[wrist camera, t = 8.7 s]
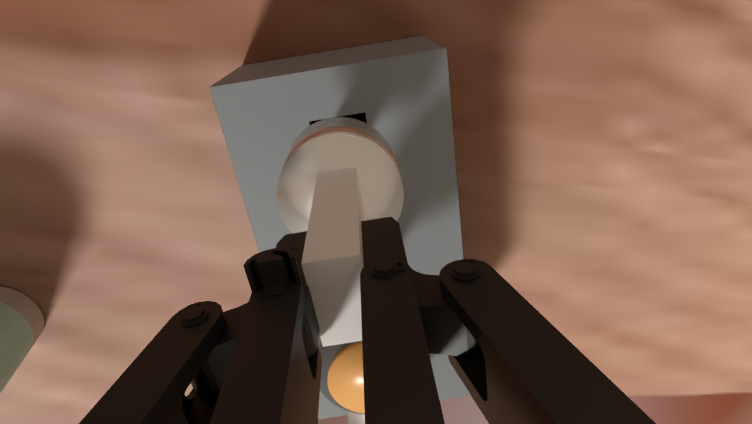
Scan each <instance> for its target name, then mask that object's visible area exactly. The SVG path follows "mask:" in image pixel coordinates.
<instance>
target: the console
mask: <svg viewBox="0 0 752 424" xmlns="http://www.w3.org/2000/svg"><path fill="white" fill-rule="evenodd" d="M209 88H210V91H211V94H212V98H213V101H214V104H215V108H216V111H217V114H218V118H219V121H220V124H221V127H222V131H223V134H224V137H225V141H226V144H227V147H228V150H229V154H230V157H231V160H232V164H233V167H234V170H235V174H236V177H237V180H238V183H239V187H240V190H241V193H242V197H243V200H244V203H245V207H246V210H247V213H248V216H249V220H250V223H251V226H252V230H253V233H254V236H255V240H256V243H257V246H258V249H259V253H260V252H262V251H265V250H269V249H273V248H276V245H277V243H278V242H279V241H280V240H281V239H282V238H283V237H284V235H286V234H292V232H291V231H290V230H289V229H288V228H287V226H286V225H285V223H284V222H283V220H282V218H281V216H280V213H279V210H278V206H277V200H276V190H277V183H278V179H279V176H280V173H281V171H282V168H283V165H284V162H285V160H286V157H287V154H288V152H289V149H290V147H291V145H292V143H293V142H294V140H295V139H296V138H297V136H298V135H299V134H300V133H301V132H302V131H303V130H305V129H306V128H307V127H309V126H310V125H312V124H311V121H315V120H321V119H327V118H333V117H340V116H346V115H352V114H358V113H364V112H365V114H366V120H367V124H369V125H370V126H372V127H374V128H375V129H376V130H377V131H379V132H380V133H381V134H382V135H383V136H384V137H385V139H386V140H387V142H388V143H389V145H390V147H391V149H392V151H393V154H394V156H395V160H396V163H397V167H398V170H399V173H400V177H401V180H402V184H403V192H404V199H403V206H402V211H401V214H400V216H399V219H398V220H397V222H399V226H400V230H401V235H402V239H403V244H404V248H405V253H406V257H407V262H408V264H409V266H410V267H411V268H412V269H413V270H415V271H417V272H419V273H422V274H428V275H439V274H440V271H441V269H442V268H443V267H444V266H445V265H446V264H448V263H451V262H453V261H456V260H461V259H463V248H462V236H461V223H460V210H459V198H458V185H457V173H456V160H455V147H454V135H453V122H452V109H451V97H450V84H449V71H448V59H447V48H445V47H444V46H442V45H440V44H438V43H436V42H434V41H432V40H430V39H429V38H427V37H425V36H423V35H421V36H415V37H409V38H403V39H397V40H391V41H385V42H379V43H373V44H367V45H361V46H355V47H349V48H343V49H337V50H331V51H325V52H319V53H313V54H307V55H301V56H295V57H289V58H283V59H277V60H271V61H265V62H259V63H253V64H247V65H242V66H240V67H239V68H237V69H236V70H234V71H233V72H231V73H230V74H228V75H227V76H225V77H224V78H223V79H221V80H220V81H218V82H217V83H215V84H214V85H212V86H211V87H209ZM318 345H319V342H318ZM429 355H430V360H431V364H432V369H433V373H434V378H435V382H436V387H437V392H438V396H439V400H445V399H451V398H458V397H464V396H471V395H470V393H469V391H468V390H467V388H466V387H465V385H464V384H463V382H462V380H461V379H460V377H459V376H458V374H457V373H456V371H455V370H454V368H453V366H452V365H451V363H450V361H449V358H448V355H441V354H431V353H429ZM343 415H348V411H346V410H344V409H341V408H339V407H337V406H336V405H334V404H333V403H331V402H330V401H329V400H328V399H327V398H326V397H325V396H324V395H323V393H322V392H321V390H320V396H319V410H318V419H323V418H329V417H336V416H343Z"/></svg>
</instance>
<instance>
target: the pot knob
mask: <svg viewBox="0 0 752 424" xmlns="http://www.w3.org/2000/svg"><path fill="white" fill-rule="evenodd" d="M318 346H319V350H320V353H321V358H322V367H321V382H320V390H321V392H322V393H323V395H324V396H325V397H326V398H327V399H328V400H329V401H330V402H331V403H333V404H334V405H336V406H337V407H339V408H341V409H344V410H346V411H349V412H353V413H358V414H365V408H364V379H363V350H362V341H358V342H351V343H345V344H338V345H332V346H325V347H323V346H322V342H321V338H320V334H319V345H318Z"/></svg>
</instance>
